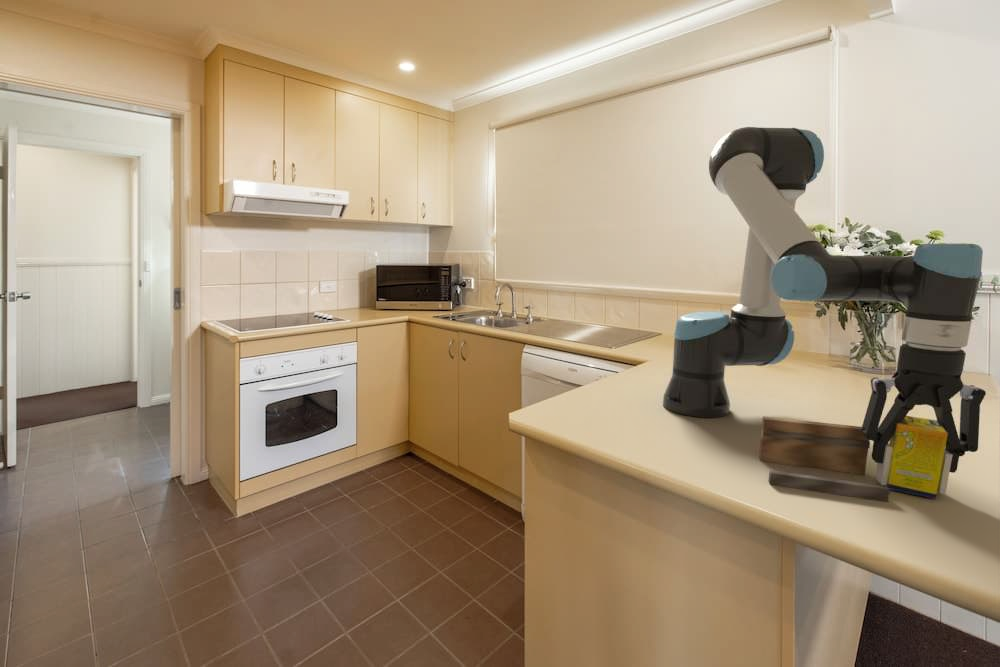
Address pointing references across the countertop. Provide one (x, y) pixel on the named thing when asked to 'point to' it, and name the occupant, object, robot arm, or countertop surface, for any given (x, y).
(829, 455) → the wooden rack
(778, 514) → the countertop surface
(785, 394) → the countertop surface
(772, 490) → the countertop surface
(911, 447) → the supplement box
